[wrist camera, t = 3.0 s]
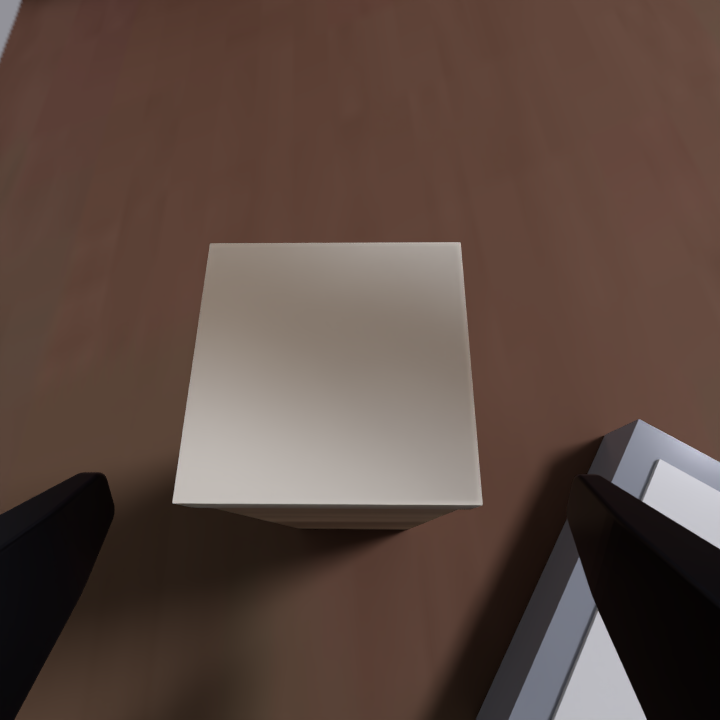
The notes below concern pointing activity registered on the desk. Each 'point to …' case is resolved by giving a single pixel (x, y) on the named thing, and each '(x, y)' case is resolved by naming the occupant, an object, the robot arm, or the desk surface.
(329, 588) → the desk surface
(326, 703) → the desk surface
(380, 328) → the beige rectangular block
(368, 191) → the desk surface
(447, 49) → the desk surface
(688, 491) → the plinth
